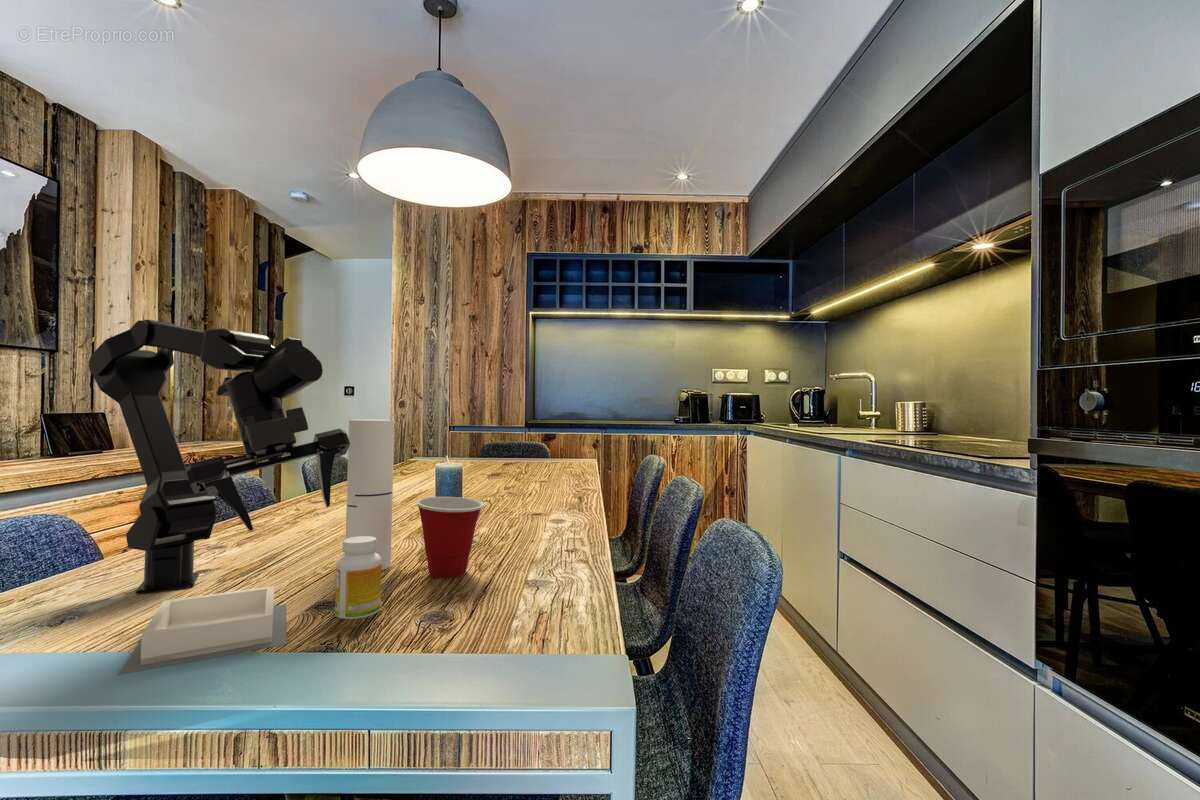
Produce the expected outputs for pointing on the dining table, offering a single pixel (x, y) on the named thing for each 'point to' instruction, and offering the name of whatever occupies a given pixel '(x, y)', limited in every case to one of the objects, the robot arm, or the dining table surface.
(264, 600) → the dish
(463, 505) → the plastic cup
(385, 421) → the cylindrical container
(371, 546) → the supplement bottle
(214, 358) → the robot arm
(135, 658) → the mat
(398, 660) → the dining table surface
